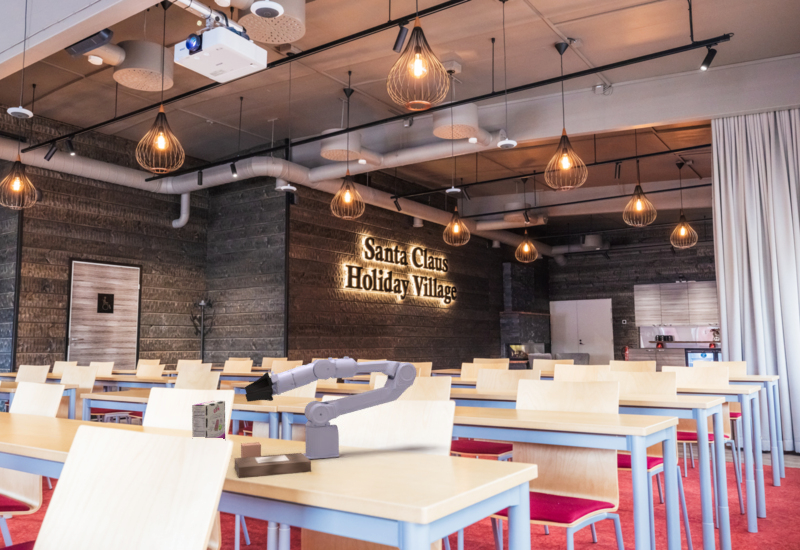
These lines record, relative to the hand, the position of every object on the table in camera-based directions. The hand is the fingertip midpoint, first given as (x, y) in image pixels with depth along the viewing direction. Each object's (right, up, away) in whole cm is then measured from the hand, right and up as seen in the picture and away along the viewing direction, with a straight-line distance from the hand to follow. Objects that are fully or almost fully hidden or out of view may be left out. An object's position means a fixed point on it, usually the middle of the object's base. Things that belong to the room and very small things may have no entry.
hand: (246, 394), depth 176 cm
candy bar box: (-12, -20, +4) cm, 23 cm away
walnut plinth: (+10, -17, -13) cm, 24 cm away
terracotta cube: (+2, -19, -1) cm, 19 cm away
